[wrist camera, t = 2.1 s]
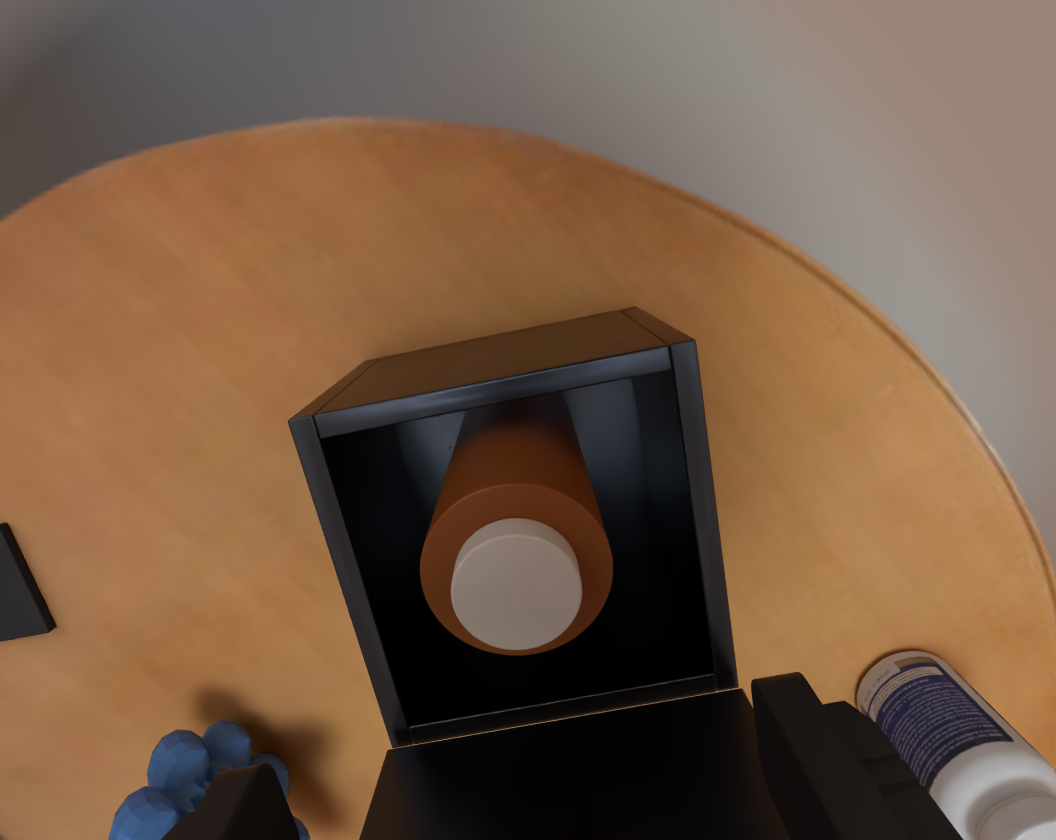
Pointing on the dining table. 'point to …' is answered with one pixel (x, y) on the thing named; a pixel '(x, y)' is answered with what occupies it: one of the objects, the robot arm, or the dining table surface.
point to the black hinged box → (622, 497)
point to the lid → (587, 779)
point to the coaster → (19, 594)
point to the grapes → (188, 779)
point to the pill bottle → (961, 749)
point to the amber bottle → (517, 532)
